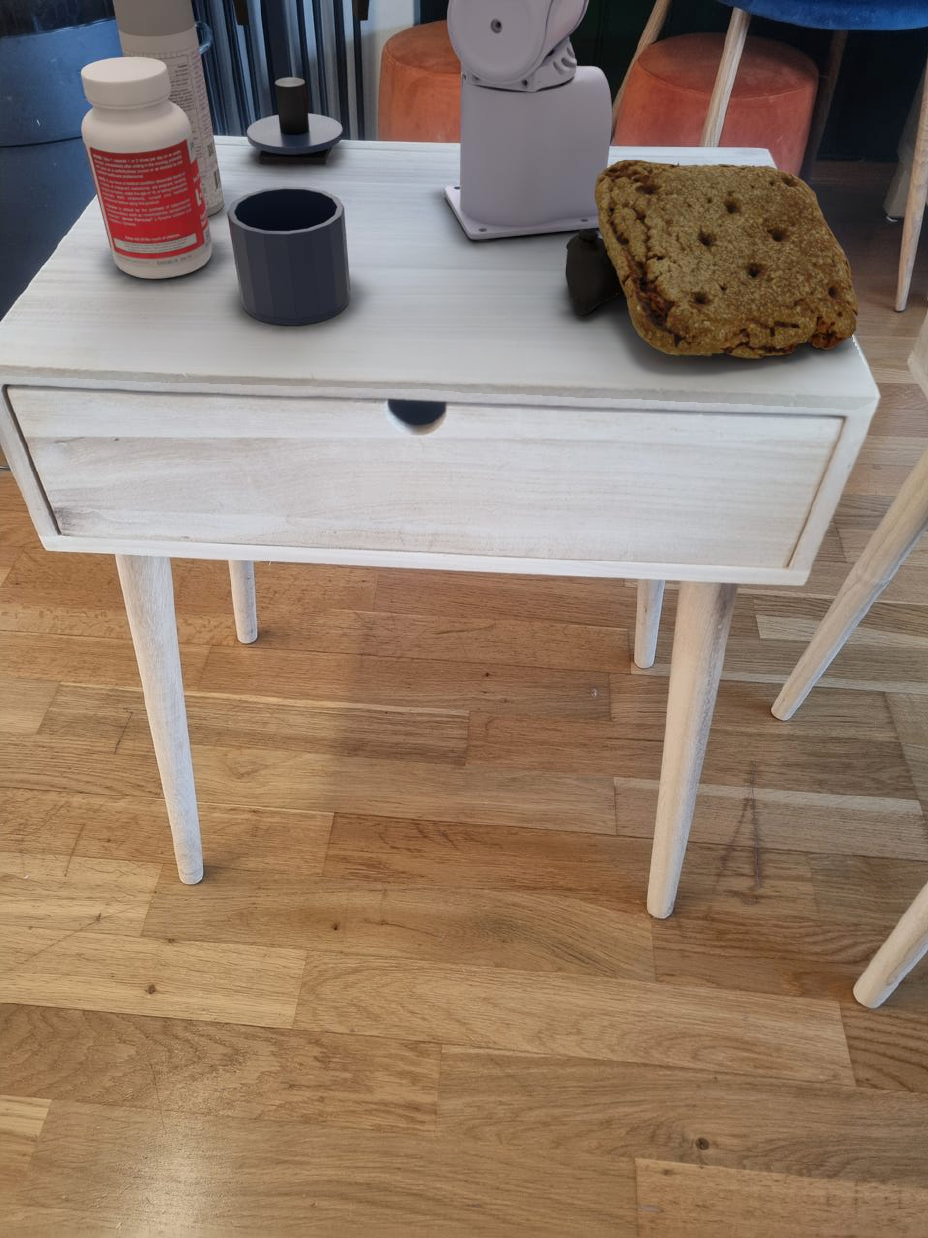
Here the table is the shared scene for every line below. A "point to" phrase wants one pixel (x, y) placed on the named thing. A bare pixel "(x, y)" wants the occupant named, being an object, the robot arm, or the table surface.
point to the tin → (290, 254)
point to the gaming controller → (590, 272)
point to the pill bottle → (144, 169)
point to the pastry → (724, 259)
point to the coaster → (295, 158)
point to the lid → (294, 124)
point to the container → (176, 73)
